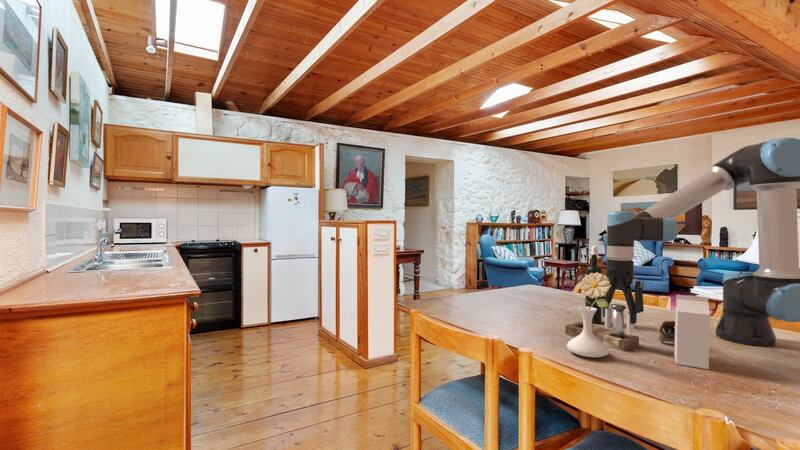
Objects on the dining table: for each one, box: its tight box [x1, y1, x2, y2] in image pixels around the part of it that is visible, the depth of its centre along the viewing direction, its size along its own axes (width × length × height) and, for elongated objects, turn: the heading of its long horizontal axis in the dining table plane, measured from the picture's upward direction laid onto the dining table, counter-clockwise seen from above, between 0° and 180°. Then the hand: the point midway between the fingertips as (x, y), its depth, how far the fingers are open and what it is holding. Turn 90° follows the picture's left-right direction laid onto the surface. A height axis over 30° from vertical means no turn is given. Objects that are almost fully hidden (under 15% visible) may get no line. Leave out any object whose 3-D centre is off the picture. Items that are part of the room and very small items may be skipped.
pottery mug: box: [658, 320, 675, 344], centre depth 125 cm, size 12×10×8 cm
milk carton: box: [673, 294, 711, 370], centre depth 107 cm, size 7×7×19 cm
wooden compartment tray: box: [564, 321, 640, 352], centre depth 128 cm, size 20×9×3 cm, turn 32°
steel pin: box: [610, 303, 627, 339], centre depth 122 cm, size 4×4×13 cm
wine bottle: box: [584, 245, 603, 325], centre depth 149 cm, size 6×6×30 cm
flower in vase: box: [566, 272, 611, 358], centre depth 113 cm, size 13×11×25 cm
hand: (618, 330), depth 122 cm, fingers open, 6 cm apart
